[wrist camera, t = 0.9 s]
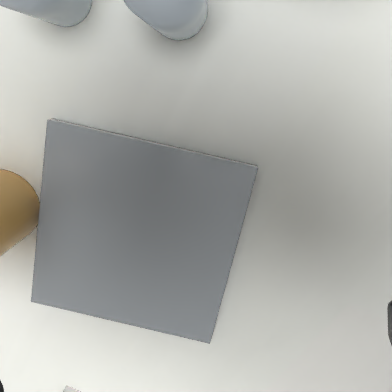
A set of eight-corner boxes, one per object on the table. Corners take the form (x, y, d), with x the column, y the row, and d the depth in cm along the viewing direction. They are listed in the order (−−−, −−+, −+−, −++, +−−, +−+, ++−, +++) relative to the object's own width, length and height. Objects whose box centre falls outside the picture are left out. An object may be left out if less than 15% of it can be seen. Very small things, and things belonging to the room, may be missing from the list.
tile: (257, 165, 21) (258, 167, 20) (210, 337, 25) (209, 343, 24) (52, 118, 21) (47, 119, 21) (35, 296, 25) (31, 301, 24)
